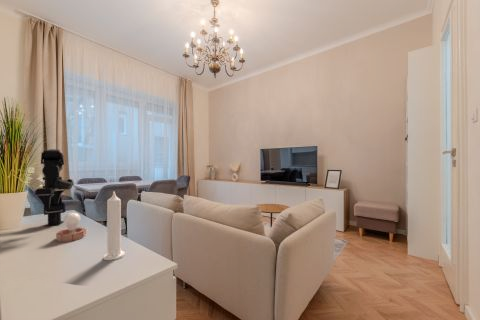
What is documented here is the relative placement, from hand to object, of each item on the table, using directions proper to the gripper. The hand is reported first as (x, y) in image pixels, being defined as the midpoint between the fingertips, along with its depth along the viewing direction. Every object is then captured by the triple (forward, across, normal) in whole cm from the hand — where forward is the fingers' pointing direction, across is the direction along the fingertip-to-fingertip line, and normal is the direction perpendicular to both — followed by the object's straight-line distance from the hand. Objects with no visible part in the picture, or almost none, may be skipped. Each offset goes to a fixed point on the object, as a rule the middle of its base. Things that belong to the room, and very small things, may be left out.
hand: (52, 206), depth 111 cm
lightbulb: (+13, -12, -12) cm, 21 cm away
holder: (+13, -12, -12) cm, 21 cm away
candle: (+13, -40, -35) cm, 55 cm away
